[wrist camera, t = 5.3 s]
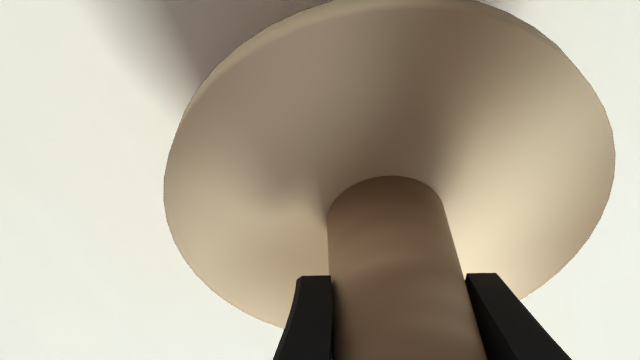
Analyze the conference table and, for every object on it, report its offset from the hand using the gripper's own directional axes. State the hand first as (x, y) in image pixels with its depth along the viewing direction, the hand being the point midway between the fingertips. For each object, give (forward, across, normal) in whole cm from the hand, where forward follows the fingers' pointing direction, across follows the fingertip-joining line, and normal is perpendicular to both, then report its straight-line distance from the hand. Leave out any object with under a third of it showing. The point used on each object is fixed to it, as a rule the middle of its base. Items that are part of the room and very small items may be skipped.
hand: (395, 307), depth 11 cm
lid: (+3, 0, -1) cm, 3 cm away
